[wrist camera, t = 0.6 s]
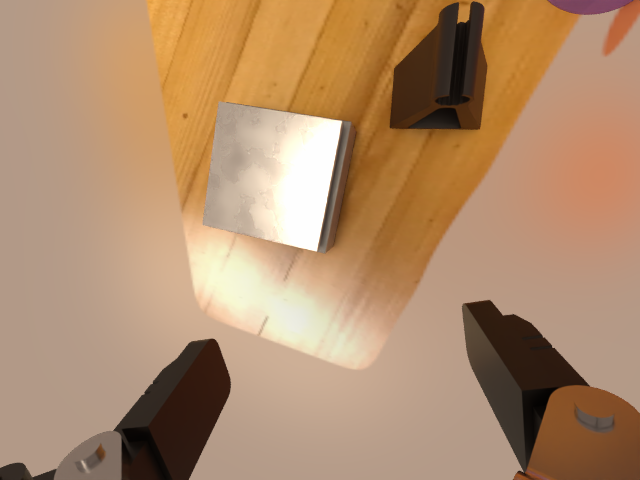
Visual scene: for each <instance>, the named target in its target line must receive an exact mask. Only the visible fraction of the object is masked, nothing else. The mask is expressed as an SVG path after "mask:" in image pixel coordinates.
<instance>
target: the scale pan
mask: <svg viewBox="0 0 640 480" xmlns="http://www.w3.org/2000/svg"><path fill="white" fill-rule="evenodd" d="M342 128H343V122H342V121H338V120H332V119H326V118H319V117H313V116H307V115H301V114H294V113H288V112H282V111H275V110H269V109H263V108H256V107H250V106H244V105H238V104H231V103H225V102H219V104H218V111H217V119H216V126H215V134H214V142H213V149H212V157H211V164H210V172H209V179H208V187H207V194H206V202H205V209H204V217H203V225H205V226H209V227H214V228H218V229H222V230H227V231H231V232H235V233H240V234H244V235H248V236H253V237H257V238H261V239H266V240H270V241H274V242H278V243H283V244H287V245H291V246H296V247H300V248H304V249H309V250H313V251H318V250H319V246H320V241H321V235H322V230H323V225H324V220H325V215H326V210H327V205H328V200H329V194H330V189H331V184H332V179H333V174H334V169H335V164H336V158H337V153H338V148H339V143H340V138H341V133H342Z"/></svg>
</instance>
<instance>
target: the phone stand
mask: <svg viewBox="0 0 640 480" xmlns="http://www.w3.org/2000/svg"><path fill="white" fill-rule="evenodd" d="M458 10H459V2H457V3H454V4H451V5H449V6H447V7H445V8H444V9H443V10H442V11H441V12H440V14H439V21H438V24H437V26H436V27H435V28H434V29H433V30H432V31H431V32H430V33H429V34H428V35H427V36H426V37H425V38H424V39H423V40H422V41H421V42H420V43H419V44H418V45H417V46H416V47H415V48H414V49H413V50H412V51H411V52H410V53H409V54H408V55H407V56H406V57H405V58H404V59H403V60H402V61H401V62H400V63H399V64H398V65H397V66H396V67H395V68H394V81H393V94H392V107H391V119H390V128H400V129H480V126H481V117H482V108H483V100H484V91H485V82H486V74H487V63H486V59H485V55H484V51H483V47H482V43H481V35H482V27H483V18H484V6H483V5H482V4H480V3H478V2H474V1H473V2H472V3H471V6H470V15H469V20H468V21H467V22H466V23H464V22H460V23H458V24H457V19H458Z"/></svg>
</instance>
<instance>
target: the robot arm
mask: <svg viewBox="0 0 640 480" xmlns="http://www.w3.org/2000/svg"><path fill="white" fill-rule="evenodd" d="M462 312H463V322H464V331H465V340H466V348H467V354H468V358H469V361H470V364H471V367H472V369H473V372H474V373H475V376H476V378H477V380H478V382H479V384H480V386H481V388H482V390H483V392H484V394H485V396H486V397H487V399H488V402H489V404H490V406H491V407H492V410H493V412H494V414H495V416H496V418H497V419H498V421H499V423H500V425H501V427H502V429H503V431H504V433H505V435H506V437H507V439H508V441H509V443H510V445H511V447H512V449H513V451H514V453H515V455H516V457H517V459H518V461H519V463H520V465H521V467H522V469H523V471H524V473H523V472H521V471H518V472H517V473H516V475H515V476H514V479H513V480H640V413H639V412H638V411H637V410H636V409H635V408H634V407H633V406H631V405H630V404H629V403H628V402H626V401H625V400H623V399H622V398H620V397H618V396H616V395H614V394H612V393H610V392H607V391H605V390H601V389H598V388H594V387H590V386H589V385H588V383H587V382H586V381H585V380H584V379H583V378H582V377H581V376H580V375H579V374H578V373H577V372H576V371H575V370H574V369H573V367H572V366H571V365H570V364H569V363H568V362H567V361H566V360H565V359H564V358H563V357H562V356H561V355H560V354H559V352H557V350H556V349H555V348H552V345H551V344H550V343H549V342H548V341H547V340H546V339H545V338H543V336H542V334H541V333H540V332H539V331H538V330H537V329H536V328H535V327H534V326H533V325H532V324H531V323H530V322H528V321H526V320H524V319H522V318H520V317H518V316H516V315H514V314H513V315H504V316H503V315H502V314H501V312H500V311H499V310H498V309H497V308H496V307H495V305H494V304H493V303H492V302H491V301H490V300H486V301H479V302H472V303H465V304H463V306H462ZM230 388H231V382H230V376H229V373H228V370H227V367H226V364H225V362H224V359H223V356H222V353H221V350H220V347H219V345H218V343H217V341H216V340H215V339H205V340H198V341H192V342H190V343H189V344H188V345H187V346H186V348H185V349H184V350H183V352H182V353H181V354H180V355H179V357H178V358H177V359H176V360H175V361H173V362H172V363H171V364H169V365H168V366H167V367H166V368H164V369H163V370H162V371H161V372H160V374H159V375H158V376H157V378H156V379H155V380H154V381H153V384H151V385H150V386H149V387H148V389H147V390H146V391H145V394H144V395H142V396H141V397H140V398H139V400H138V401H137V402H136V403H135V405H134V406H133V407H132V408H131V409H130V411H129V412H128V413H127V414H126V416H125V417H124V418H123V419H122V421H121V422H120V423H119V424H118V425H117V427H116V428H115V429H114V430H113V431H107V432H103V433H100V434H97V435H95V436H93V437H91V438H89V439H88V440H86V441H84V442H83V443H81V444H80V445H79V446H77V447H76V448H75V449H74V450H72V451H71V452H70V453H69V454H68V455H67V456H66V457H65V458H64V460H63V461H62V462H61V464H60V465H59V466H58V468H57V469H55V470H52V471H49V472H46V473H43V474H41V475H38V476H35V477H32V476H31V475H30V473H29V471H28V470H27V468H26V466H25V465H24V464H23V463H13V464H9V465H6V466H4V467H2V468H0V480H189V478H190V476H191V474H192V472H193V469H194V468H195V465H196V463H197V461H198V459H199V457H200V455H201V453H202V451H203V448H204V446H205V445H206V442H207V440H208V438H209V436H210V434H211V432H212V430H213V428H214V426H215V424H216V422H217V420H218V417H219V415H220V413H221V411H222V409H223V407H224V405H225V403H226V401H227V399H228V397H229V394H230Z"/></svg>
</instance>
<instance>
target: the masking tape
mask: <svg viewBox="0 0 640 480" xmlns="http://www.w3.org/2000/svg"><path fill="white" fill-rule="evenodd" d="M548 1H549V2H550V3H551V4H553V5H554V6H556V7H558V8H560V9H562V10H564V11H567V12H571V13H575V14H582V15H592V14H600V13H605V12H609V11H612V10H615V9H618V8H620V7H622V6H624V5H626V4H628V3H630V2H632V1H633V0H548Z"/></svg>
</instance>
